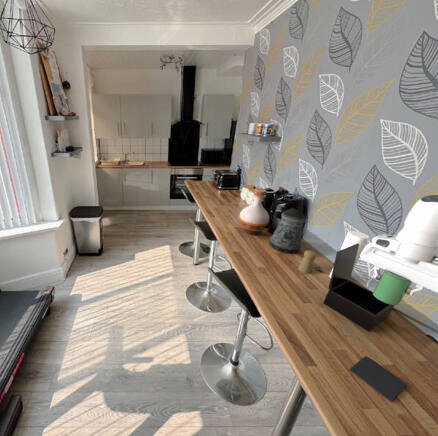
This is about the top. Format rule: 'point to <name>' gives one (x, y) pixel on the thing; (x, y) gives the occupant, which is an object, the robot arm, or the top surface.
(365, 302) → the bin
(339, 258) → the bin lid
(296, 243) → the beer stein
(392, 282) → the pot
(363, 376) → the mat
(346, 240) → the cylindrical container
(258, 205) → the white vase
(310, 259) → the cork
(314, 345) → the top surface
